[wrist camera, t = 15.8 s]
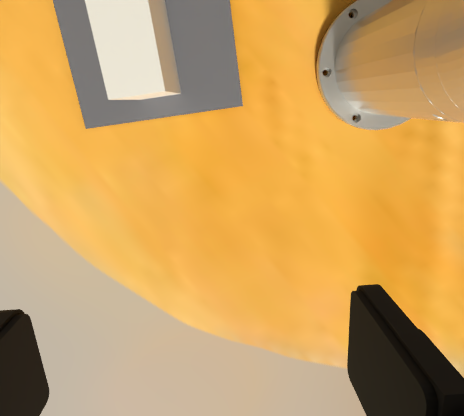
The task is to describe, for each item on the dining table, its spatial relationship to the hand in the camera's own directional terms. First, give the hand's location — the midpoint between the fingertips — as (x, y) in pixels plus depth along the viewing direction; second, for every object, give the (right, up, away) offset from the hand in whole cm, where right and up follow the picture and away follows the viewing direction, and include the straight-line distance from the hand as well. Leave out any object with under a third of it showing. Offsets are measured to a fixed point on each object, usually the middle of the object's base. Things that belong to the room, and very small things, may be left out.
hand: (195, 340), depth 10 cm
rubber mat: (-7, +21, +23) cm, 32 cm away
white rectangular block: (-7, +21, +23) cm, 32 cm away
